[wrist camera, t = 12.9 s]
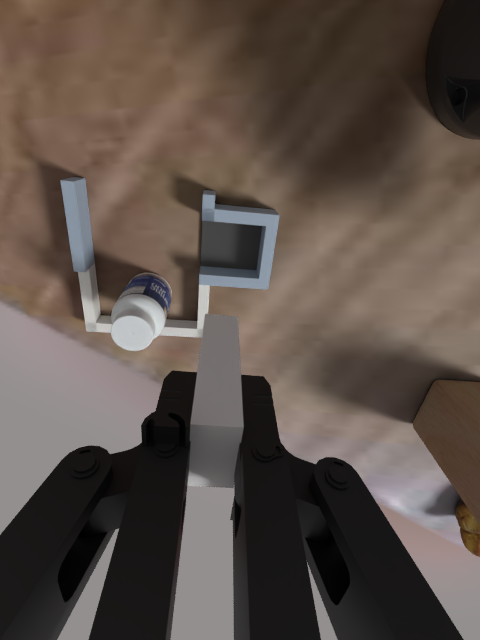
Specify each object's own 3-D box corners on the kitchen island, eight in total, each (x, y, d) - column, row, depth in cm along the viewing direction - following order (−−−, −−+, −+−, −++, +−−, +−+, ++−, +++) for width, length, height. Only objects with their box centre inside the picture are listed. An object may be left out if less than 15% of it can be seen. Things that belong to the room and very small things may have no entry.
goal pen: (83, 262, 37) (77, 268, 36) (210, 271, 39) (210, 277, 37) (91, 323, 41) (86, 331, 40) (206, 329, 43) (206, 337, 41)
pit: (202, 214, 36) (202, 214, 35) (262, 219, 36) (263, 220, 36) (200, 265, 38) (200, 266, 38) (256, 269, 39) (256, 270, 39)
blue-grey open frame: (72, 176, 33) (60, 180, 31) (276, 197, 35) (281, 201, 33) (84, 266, 38) (74, 275, 35) (264, 279, 40) (268, 289, 37)
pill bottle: (179, 304, 41) (169, 348, 32) (139, 317, 41) (119, 363, 33) (161, 265, 38) (146, 301, 30) (119, 278, 39) (91, 318, 30)
